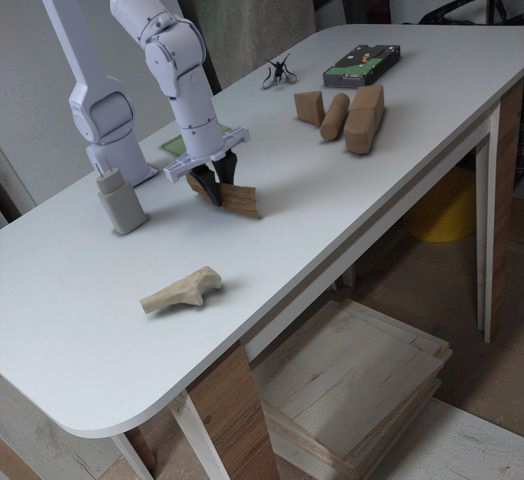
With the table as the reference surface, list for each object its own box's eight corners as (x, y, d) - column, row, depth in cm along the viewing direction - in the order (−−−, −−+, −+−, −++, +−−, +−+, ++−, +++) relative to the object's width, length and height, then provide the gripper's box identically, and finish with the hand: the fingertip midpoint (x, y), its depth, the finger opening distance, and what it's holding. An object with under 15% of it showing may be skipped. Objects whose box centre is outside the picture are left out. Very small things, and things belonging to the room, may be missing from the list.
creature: (297, 90, 116) (297, 68, 120) (292, 67, 112) (293, 45, 115) (263, 97, 118) (264, 75, 122) (257, 75, 113) (258, 53, 117)
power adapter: (148, 218, 90) (119, 153, 82) (124, 235, 89) (91, 171, 80) (139, 214, 92) (109, 150, 84) (114, 230, 90) (81, 167, 82)
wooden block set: (383, 75, 94) (367, 123, 83) (385, 106, 98) (370, 156, 87) (294, 86, 100) (267, 132, 89) (299, 115, 104) (274, 163, 93)
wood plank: (264, 215, 83) (260, 185, 80) (256, 220, 82) (251, 190, 79) (199, 196, 92) (192, 168, 88) (190, 201, 91) (183, 173, 87)
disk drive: (359, 58, 118) (323, 86, 111) (358, 44, 116) (321, 73, 109) (401, 58, 112) (365, 88, 105) (401, 44, 110) (364, 74, 103)
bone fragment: (145, 311, 73) (134, 291, 71) (219, 278, 74) (211, 258, 72) (151, 330, 70) (141, 311, 67) (229, 296, 71) (221, 276, 68)
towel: (184, 159, 103) (183, 156, 103) (161, 147, 110) (161, 144, 109) (233, 132, 106) (232, 129, 106) (208, 121, 113) (207, 119, 113)
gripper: (167, 148, 72) (199, 231, 81) (251, 103, 76) (272, 186, 85) (145, 137, 76) (178, 216, 86) (225, 94, 80) (248, 175, 90)
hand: (223, 201), depth 86 cm, fingers closed on wood plank, 2 cm apart
